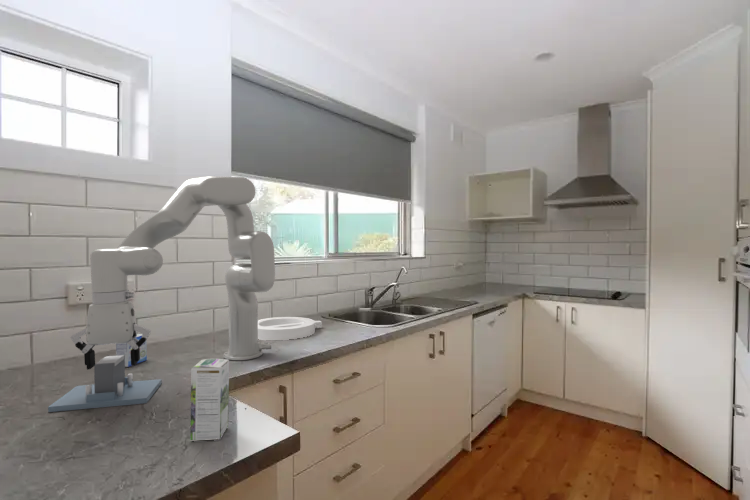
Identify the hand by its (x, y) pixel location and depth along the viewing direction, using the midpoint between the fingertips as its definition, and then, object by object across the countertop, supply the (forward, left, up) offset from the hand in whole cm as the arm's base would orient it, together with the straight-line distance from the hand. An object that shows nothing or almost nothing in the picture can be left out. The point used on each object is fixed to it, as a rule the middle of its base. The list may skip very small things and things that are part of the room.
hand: (113, 365), depth 100 cm
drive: (+1, 0, -6) cm, 6 cm away
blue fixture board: (+1, +1, -8) cm, 8 cm away
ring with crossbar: (-44, -62, -8) cm, 76 cm away
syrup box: (-26, +29, -8) cm, 40 cm away
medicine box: (+5, -29, -8) cm, 31 cm away
